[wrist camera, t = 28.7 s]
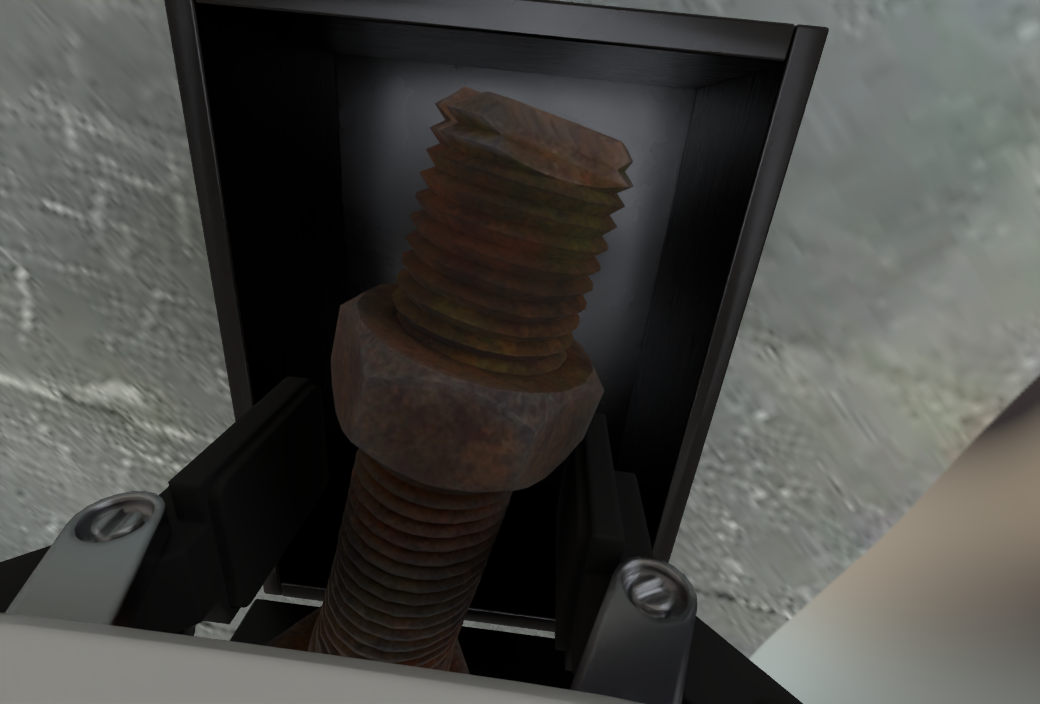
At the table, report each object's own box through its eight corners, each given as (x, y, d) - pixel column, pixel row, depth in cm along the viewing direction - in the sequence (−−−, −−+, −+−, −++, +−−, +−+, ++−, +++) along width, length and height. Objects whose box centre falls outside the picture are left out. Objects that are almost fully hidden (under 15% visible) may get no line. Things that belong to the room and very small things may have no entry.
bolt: (580, 139, 11) (424, 602, 17) (343, 49, 8) (253, 634, 14) (809, 202, 6) (486, 809, 12) (446, 50, 4) (253, 912, 9)
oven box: (322, 31, 18) (156, -40, 11) (716, 71, 18) (831, 26, 10) (348, 462, 26) (263, 594, 19) (619, 495, 26) (644, 644, 18)
